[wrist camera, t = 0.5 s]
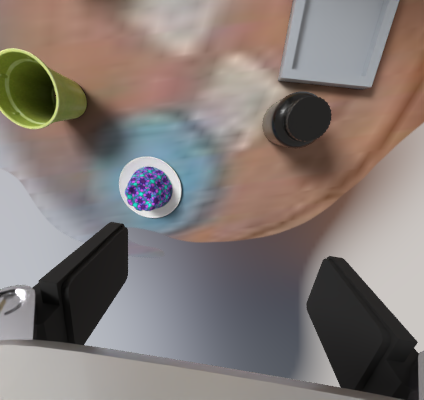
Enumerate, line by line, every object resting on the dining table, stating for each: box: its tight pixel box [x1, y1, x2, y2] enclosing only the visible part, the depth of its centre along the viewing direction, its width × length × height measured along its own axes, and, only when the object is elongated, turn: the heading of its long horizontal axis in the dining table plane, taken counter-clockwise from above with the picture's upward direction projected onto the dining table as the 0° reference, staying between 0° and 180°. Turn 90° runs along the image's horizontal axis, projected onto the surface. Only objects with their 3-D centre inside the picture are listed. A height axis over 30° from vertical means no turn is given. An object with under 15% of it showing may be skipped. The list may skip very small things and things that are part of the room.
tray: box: [278, 0, 399, 90], centre depth 29 cm, size 13×13×2 cm
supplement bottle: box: [262, 92, 331, 148], centre depth 28 cm, size 7×7×12 cm
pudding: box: [119, 157, 181, 218], centre depth 37 cm, size 12×12×5 cm
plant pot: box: [0, 48, 87, 129], centre depth 31 cm, size 9×9×9 cm
